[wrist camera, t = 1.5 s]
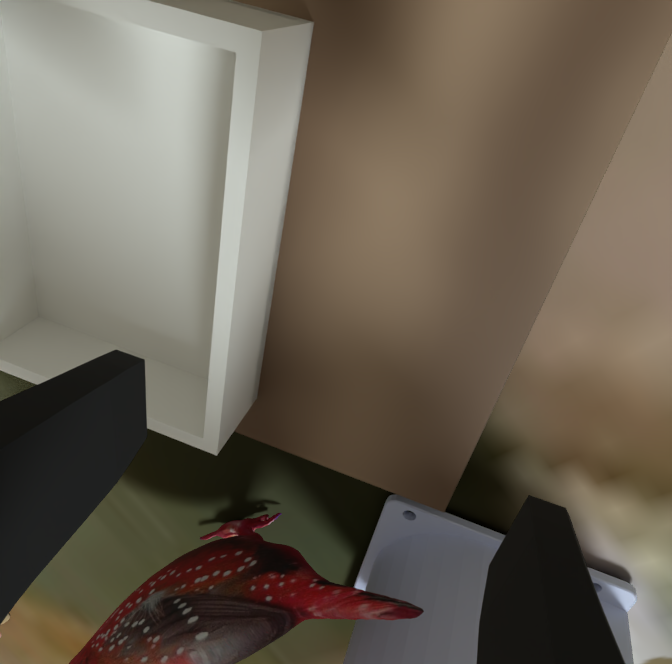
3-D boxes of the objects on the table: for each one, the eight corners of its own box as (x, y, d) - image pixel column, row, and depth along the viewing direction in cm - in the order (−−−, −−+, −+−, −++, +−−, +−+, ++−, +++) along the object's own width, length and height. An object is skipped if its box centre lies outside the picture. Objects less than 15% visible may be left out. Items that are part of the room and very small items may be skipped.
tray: (313, 22, 13) (262, 31, 11) (256, 398, 20) (216, 455, 18) (-10, -64, 15) (-120, -72, 12) (38, 316, 22) (-27, 359, 19)
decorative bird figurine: (134, 527, 29) (-26, 738, 21) (433, 428, 20) (355, 732, 12) (170, 565, 30) (29, 782, 22) (474, 487, 21) (426, 809, 13)
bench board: (675, 0, 12) (732, 10, 8) (448, 488, 21) (427, 599, 17) (-328, -235, 16) (-595, -300, 13) (-161, 257, 25) (-286, 306, 22)
